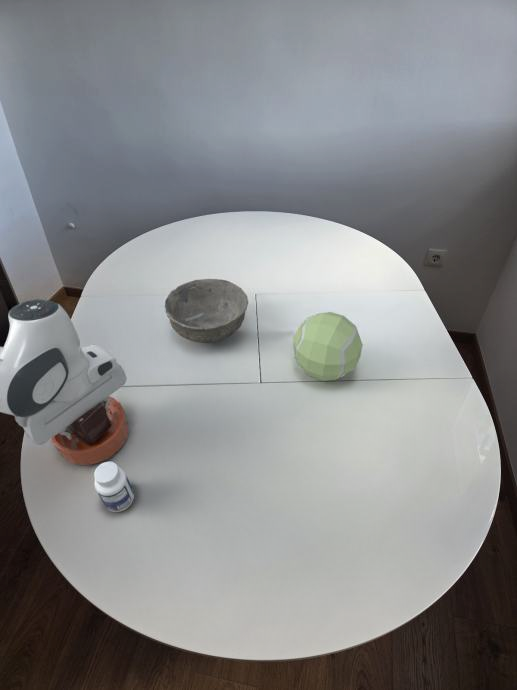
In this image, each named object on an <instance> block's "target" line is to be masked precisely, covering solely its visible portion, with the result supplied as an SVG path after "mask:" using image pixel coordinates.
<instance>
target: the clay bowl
mask: <svg viewBox="0 0 517 690" xmlns="http://www.w3.org/2000/svg"><path fill="white" fill-rule="evenodd" d="M109 397H110V400H109V403H108V406H107V407H108V409H109V411H108V412H107V416H108V418H109V420H110V423H111V425H112V426H111V427H110V428H109V429H108V430H107V431H106V432H105V433H104V434H103V435H102V436H101V437H100V438H99V439H98V440H97V441H96V442H95V443H94V444H93V445H92V446H89V445H87V444H85V443H84V442H82V441H80V440H78V439H77V438H75V437H73V438H72V439H71V440H69V439H68V438H67V437H66V436H65V435H61V434H59V433H58V434H57V435H55V436H54V437H52V438H51V441H52V443H53V446H54V447H55V449H56V450H57V452H58V454H59V455H60V456H61V457H62V458H63V459H64V460H65V461H66V462H68V463H71V464H74V465H75V466H90V465H94V464H98V463H101V462H103V461H105V460H108V459H109V458H111V457H113V456H114V455H115V454H116V453H117V452H118V451H120V449H122V447H123V445H124V444H125V442H126V441H127V438H128V435H129V432H130V429H129V427H130V426H129V425H130V424H129V420H128V417H127V415H126V413H125V410H124V408H123V406H122V404H121V403H120V402H119V401H118V400H117V399H115V398H114V397H111V396H109ZM66 428H67V427H66Z"/></svg>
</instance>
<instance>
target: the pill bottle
mask: <svg viewBox="0 0 517 690" xmlns="http://www.w3.org/2000/svg"><path fill="white" fill-rule="evenodd" d="M93 476H94V488H95V491H96V493H97V494H98V496H99V497H100V499H101V501H102V503H103V505H104V506H105V508H106V509H107V510H108V511H110V512H112V513H120V512H123V511H126V510H127V509H128V508H129V507H130V506H131V505H132V503H133V502H134V498H135V493H134V490H133V486H132V484H131V482H130V480H129V478H128V476H127V473H126V471H125V470H124V469H123V468H121V467H120V466H118V465H117V463H115V462H113V461H105V462H102V463H100V464H99V465H98V466H97V467H96V468H95V470H94V473H93Z"/></svg>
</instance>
